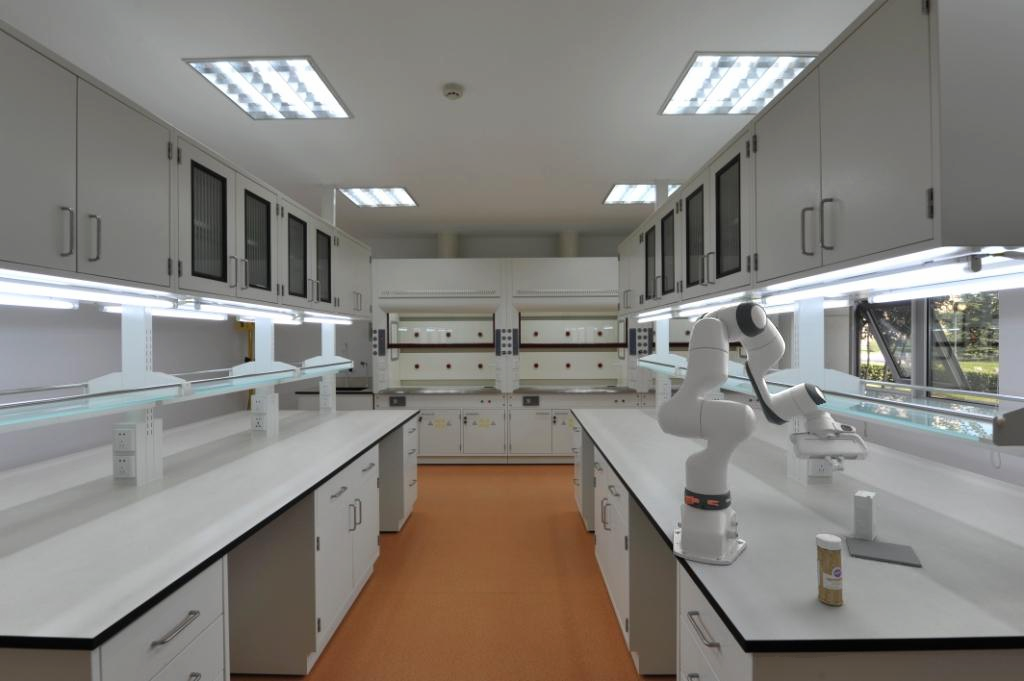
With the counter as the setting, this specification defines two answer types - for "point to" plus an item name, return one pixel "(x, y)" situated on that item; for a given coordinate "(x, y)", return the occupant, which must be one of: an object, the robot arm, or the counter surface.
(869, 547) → the mat
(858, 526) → the skincare box
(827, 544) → the sprinkles bottle
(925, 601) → the counter surface
